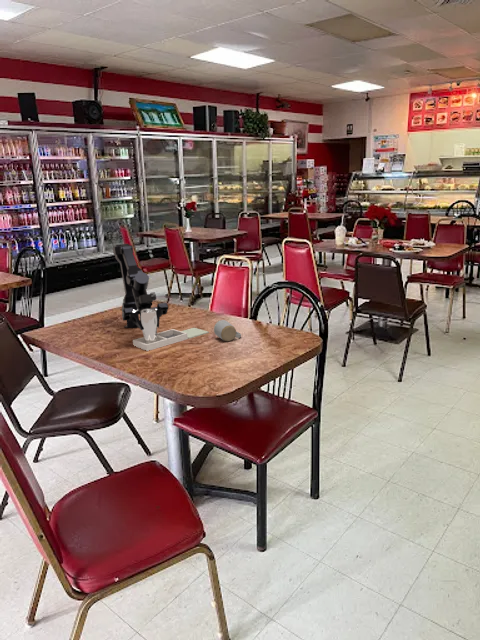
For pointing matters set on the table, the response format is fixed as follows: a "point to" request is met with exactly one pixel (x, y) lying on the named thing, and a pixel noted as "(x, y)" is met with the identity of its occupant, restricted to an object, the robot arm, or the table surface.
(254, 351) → the table surface
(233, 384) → the table surface
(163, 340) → the white divided tray
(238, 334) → the ceramic mug
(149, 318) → the shiny metal tumbler
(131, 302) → the robot arm
